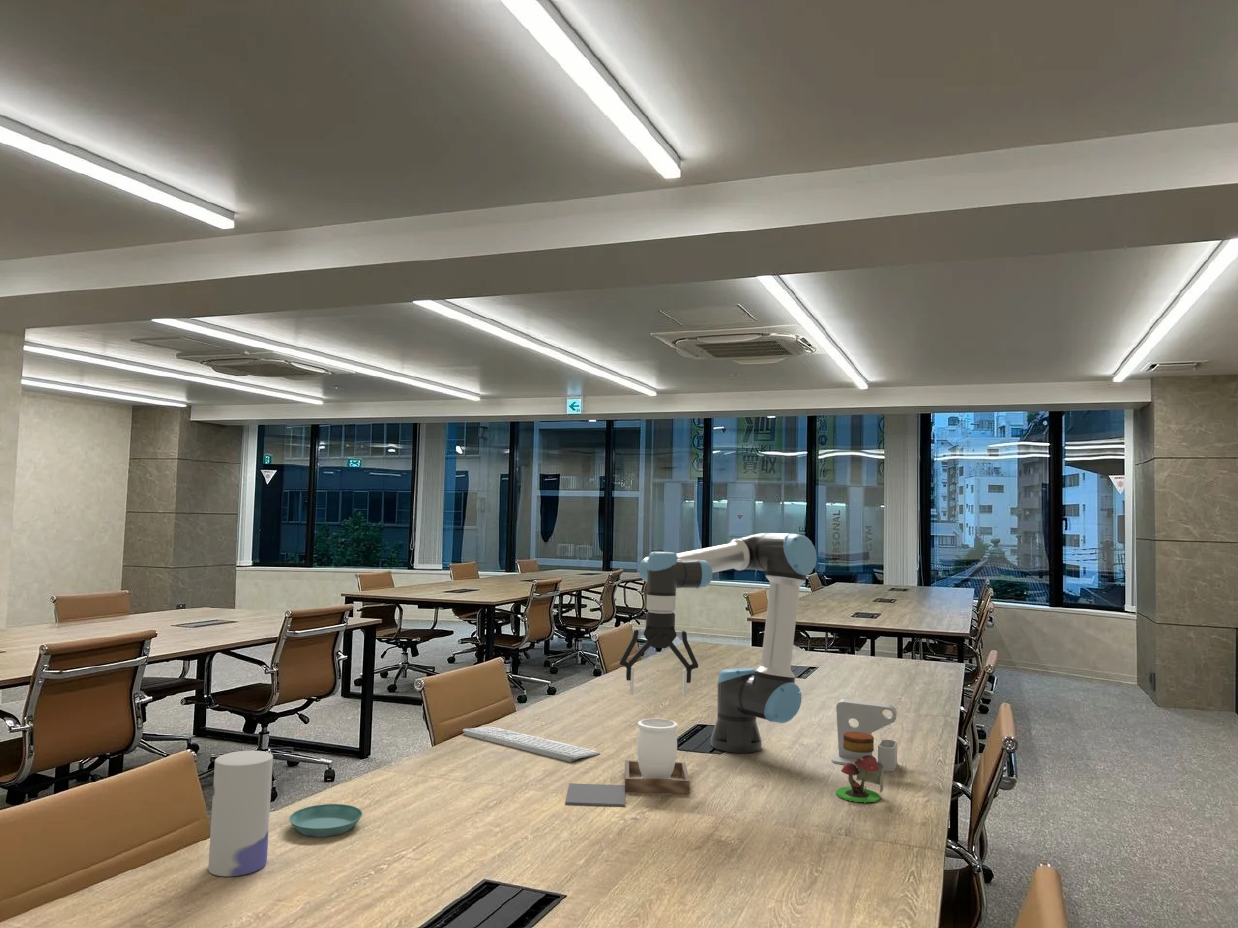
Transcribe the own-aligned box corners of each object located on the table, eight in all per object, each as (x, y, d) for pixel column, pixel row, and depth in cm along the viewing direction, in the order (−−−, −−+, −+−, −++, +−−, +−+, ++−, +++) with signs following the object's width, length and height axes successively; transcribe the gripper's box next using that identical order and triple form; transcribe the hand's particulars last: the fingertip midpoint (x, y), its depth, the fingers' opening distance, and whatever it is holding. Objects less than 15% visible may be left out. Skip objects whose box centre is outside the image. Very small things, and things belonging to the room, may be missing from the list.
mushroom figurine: (859, 808, 200) (860, 744, 201) (824, 792, 211) (825, 731, 212) (896, 801, 206) (896, 739, 207) (859, 786, 217) (860, 727, 218)
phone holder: (899, 763, 239) (899, 699, 240) (894, 772, 230) (895, 706, 231) (837, 754, 247) (838, 692, 248) (830, 763, 237) (831, 698, 239)
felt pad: (624, 787, 210) (624, 785, 210) (624, 806, 196) (625, 804, 196) (569, 785, 210) (569, 783, 210) (565, 804, 196) (565, 801, 196)
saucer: (319, 846, 167) (320, 833, 168) (273, 830, 175) (273, 817, 175) (376, 825, 180) (377, 812, 180) (330, 810, 188) (331, 798, 188)
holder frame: (684, 773, 223) (685, 762, 223) (689, 793, 207) (689, 780, 207) (624, 771, 223) (625, 760, 223) (624, 791, 207) (625, 778, 207)
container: (220, 855, 161) (227, 749, 162) (273, 855, 162) (280, 749, 163) (198, 877, 151) (206, 764, 153) (256, 877, 152) (262, 764, 153)
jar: (673, 790, 209) (674, 729, 210) (632, 786, 211) (634, 725, 212) (678, 777, 219) (680, 719, 220) (639, 774, 221) (641, 716, 222)
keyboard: (600, 755, 239) (601, 747, 239) (573, 764, 229) (573, 756, 229) (490, 728, 265) (490, 721, 266) (461, 736, 256) (461, 728, 256)
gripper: (707, 611, 221) (704, 693, 220) (613, 608, 222) (609, 689, 220) (710, 614, 214) (707, 699, 212) (612, 611, 214) (609, 695, 213)
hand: (657, 694), depth 216 cm, fingers open, 13 cm apart
